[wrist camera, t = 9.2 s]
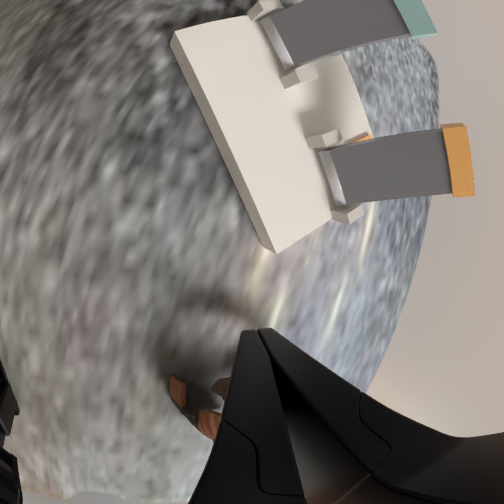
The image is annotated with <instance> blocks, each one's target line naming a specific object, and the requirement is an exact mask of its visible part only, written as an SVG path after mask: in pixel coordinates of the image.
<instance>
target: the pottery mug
mask: <svg viewBox="0 0 504 504" xmlns="http://www.w3.org/2000/svg"><path fill="white" fill-rule="evenodd" d="M229 381H230V377H229V378H222V379H219V380H217V381H216V382H215V384H214V385H213V386H212V388H211V390H212V391H213V392H214V393H216V394H218V395H220V396H222V398H223V400H224V401H225V398H226V394H227V389H228V385H229ZM186 388H187V385H186V384H185V383H184V382H182V381H179V380H178V378H177V377H176V376H175V375H171V377H170V381H169V391H170V396H171V399H172V401H173V403H174V404H175V406H176V407H177V408H178V409H179V410H180V412H181V413H182V414H183V415H184V416H185V417H186V418H187V419H188V420H189V421H190V422H191V424H192V425H194V426H195V427H196V428H197V429H198V430H199V431H200V432H201V433H202V434H203V435H205V436H206V437H208V438H210V439H212V440H213V443H214V440H215V437H216V434H217V429H218V425H219V422H220V418H221V414H220V413H217V412H215V411H212V410H208V411H206V410H203V411H201V412H199V411H198V410H194V409H189V408H188V407H187V405H186Z"/></svg>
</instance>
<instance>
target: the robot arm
mask: <svg viewBox="0 0 504 504" xmlns="http://www.w3.org/2000/svg"><path fill="white" fill-rule="evenodd" d="M19 413H20V410H19V407H18V405H17V401H16V399H15V396H14V394H13V391H12V389H11V386H10V384H9V382H8V380H7V377H6V374H5V371H4V368H3V365H2V363H1V361H0V504H22V503H23V500H22V499H23V497H22V491H21V485H20V479H19V472H18V464H17V457H15V456H14V455H13V454H10V453H9V452H7V451H6V450H5V449H3V445H4V440H5V435H6V436H9V435H10V432H11V428H12V423H13V419H14V415H19ZM188 504H504V432H502V433H497V434H491V435H485V436H478V437H467V438H466V437H454V436H450V435H447V434H444V433H441V432H439V431H437V430H434V429H432V428H430V427H427V426H425V425H423V424H421V423H418V422H416V421H414V420H412V419H410V418H408V417H405V416H404V415H402V414H400V413H398V412H396V411H394V410H392V409H390V408H388V407H386V406H385V405H383V404H381V403H380V402H378V401H376V400H375V399H373V398H372V397H370V396H368V395H367V394H365V393H364V392H361V391H360V390H359V389H358V388H356V387H355V386H353V385H352V384H350V383H349V382H347V381H346V380H344V379H343V378H341V377H340V376H338V375H337V374H335V373H334V372H332V371H331V370H329V369H328V368H327V367H325V366H324V365H322V364H321V363H319V362H318V361H317V360H315V359H314V358H312V357H311V356H309V355H308V354H307V353H305V352H304V351H302V350H301V349H300V348H298V347H297V346H296V345H294V344H293V343H291V342H290V341H289V340H287V339H286V338H285V337H283V336H282V335H280V334H279V333H278V332H276V331H275V330H274V329H272V328H262V329H258V330H257V331H256V330H255V329H252V330H243V331H242V332H241V335H240V340H239V344H238V348H237V352H236V356H235V361H234V365H233V369H232V373H231V377H230V381H229V385H228V389H227V394H226V398H225V402H224V406H223V410H222V414H221V418H220V422H219V425H218V429H217V434H216V437H215V440H214V444H213V447H212V450H211V453H210V456H209V458H208V461H207V463H206V466H205V468H204V471H203V473H202V475H201V477H200V480H199V482H198V484H197V486H196V488H195V490H194V492H193V494H192V497H191V499H190V501H189V503H188Z"/></svg>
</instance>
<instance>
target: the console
mask: <svg viewBox="0 0 504 504" xmlns="http://www.w3.org/2000/svg"><path fill="white" fill-rule="evenodd" d="M283 8H284V7H283V6H282V4H281V2H280V1H279V0H262V1H258V2H257V3H256V4H255V5H254V6H253V7H252V8H251V9H250V10H249V11H248V12H247V14H248V15H246V16H239V17H233V18H228V19H222V20H217V21H213V22H208V23H204V24H200V25H196V26H192V27H188V28H185V29H181V30H178V31H175V32H174V34H173V37H172V39H171V42H170V47H171V49H172V51H173V54H174V56H175V58H176V60H177V62H178V64H179V66H180V68H181V70H182V72H183V74H184V76H185V79H186V81H187V83H188V85H189V87H190V89H191V91H192V93H193V95H194V98H195V100H196V102H197V104H198V106H199V108H200V110H201V112H202V115H203V117H204V119H205V121H206V123H207V125H208V127H209V129H210V132H211V134H212V136H213V138H214V140H215V142H216V145H217V147H218V149H219V151H220V153H221V155H222V157H223V160H224V162H225V164H226V166H227V168H228V171H229V173H230V175H231V177H232V179H233V181H234V184H235V186H236V188H237V190H238V192H239V195H240V197H241V199H242V201H243V203H244V206H245V208H246V210H247V212H248V214H249V217H250V219H251V221H252V223H253V226H254V228H255V230H256V232H257V234H258V237H259V239H260V241H261V243H262V246H263V247H264V248H266V249H268V250H270V251H272V252H274V253H275V254H278V253H279V252H281V251H282V250H284V249H285V248H287V247H288V246H290V245H291V244H293V243H295V242H296V241H298V240H299V239H301V238H302V237H304V236H305V235H307V234H308V233H310V232H311V231H313V230H314V229H316V228H317V227H319V226H321V225H322V224H324V223H325V222H327V221H328V220H330V219H331V218H333V220H335V221H339V222H343V223H347V224H351V223H352V222H354V221H355V220H357V219H358V218H359V217H361V216H362V215H364V211H363V207H362V204H359V203H355V204H347V205H343V206H337V205H336V204H335V201H334V197H333V194H332V191H331V188H330V185H329V182H328V179H327V176H326V173H325V170H324V167H323V164H322V161H321V158H320V155H319V153H318V151H320V150H322V149H324V148H328V147H333V146H338V145H343V144H347V143H352V142H357V141H362V140H368V139H373V136H372V132H371V129H370V126H369V123H368V120H367V117H366V114H365V111H364V108H363V105H362V103H361V100H360V97H359V95H358V92H357V89H356V87H355V84H354V82H353V79H352V77H351V74H350V72H349V70H348V67H347V65H346V63H345V60H344V58H343V56H342V54H341V53H338V54H334V55H331V56H328V57H325V58H322V59H319V60H316V61H314V62H311V63H308V64H305V65H303V66H300V67H298V68H295V69H292V70H288V71H285V69H284V67H283V65H282V63H281V61H280V59H279V57H278V55H277V53H276V51H275V49H274V47H273V45H272V43H271V41H270V39H269V37H268V35H267V33H266V31H265V29H264V27H263V26H262V24H261V21H262V20H263V19H265V18H267V17H270V16H272V15H274V14H276V13H278V12H280V11H281V10H282V9H283Z"/></svg>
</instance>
